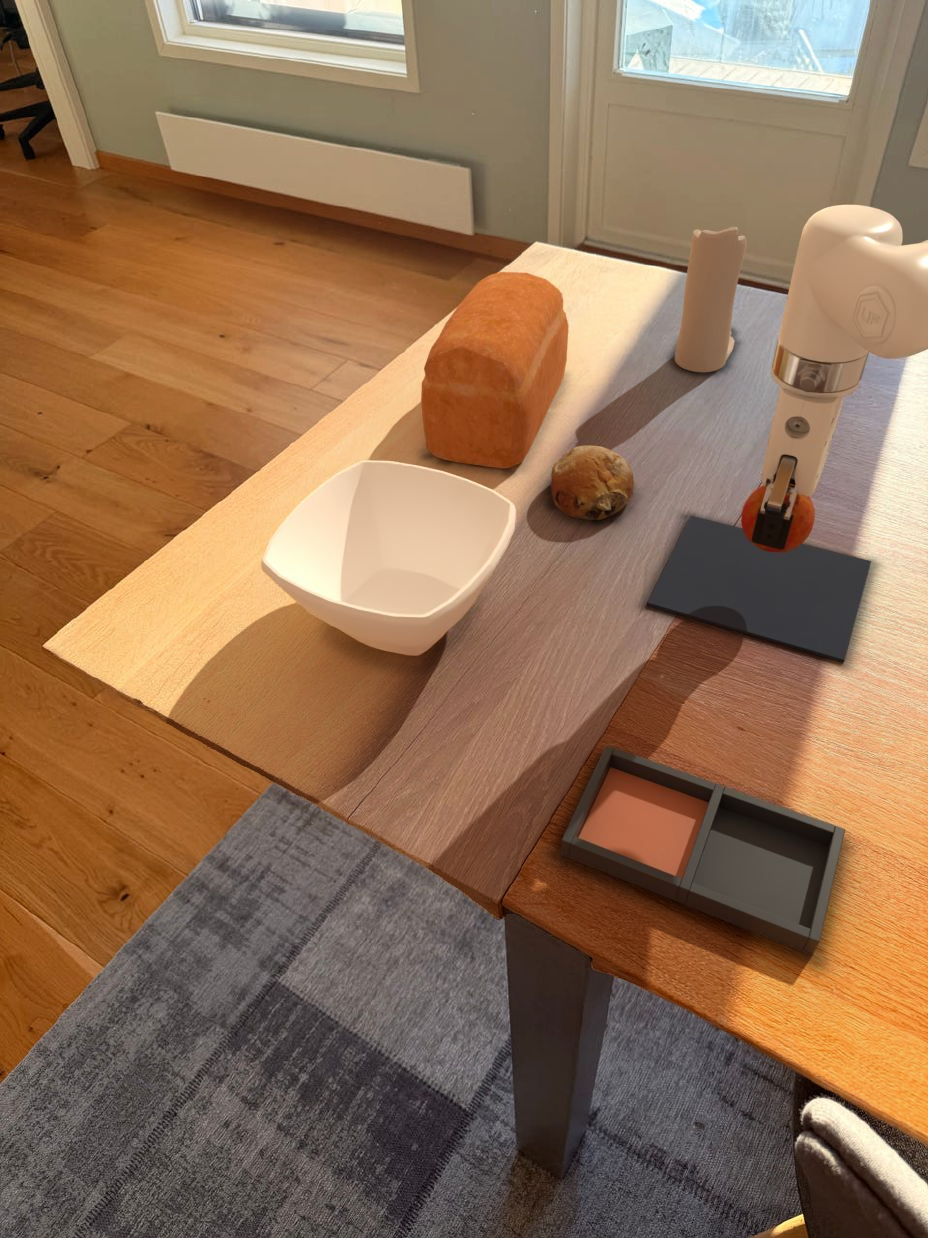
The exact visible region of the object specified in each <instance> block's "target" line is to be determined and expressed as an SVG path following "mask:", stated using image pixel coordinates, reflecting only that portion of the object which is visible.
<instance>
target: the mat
mask: <svg viewBox="0 0 928 1238" xmlns="http://www.w3.org/2000/svg"><path fill="white" fill-rule="evenodd" d="M871 563H872V561H871V560H869V559H865V558H861V557H857V556H853V555H849V554H845V553H841V552H837V551H833V550H829V549H825V548H821V547H818V546H813V545H809V544H805V543H802V544H801V545H800V546H798V547H797V548H794V549H793V550H791V551H789V552H785V553H780V552H767V551H764V550H762V549H760V548H758V547H756V546H755V545H754V544H752V543H751V542H750V541H749V540H748V539H747V537H746V536H745V534H744V532H743V529H742V527H738V526H734V525H731V524H726V523H723V522H718V521H715V520H711V519H707V518H702V517H698V516H695V515H690V517H689V518H688V520H687V521H686V524H685V526H684V528H683V530H682V532H681V534H680V536H679V539H678V540H677V542H676V544H675V546H674V548H673V550H672V552H671V554H670V557H669V559H668V560H667V563H666V565H665V566H664V568H663V570H662V573H661V575H660V576H659V579H658V580H657V583H656V585H655V586H654V589H653V590H652V592H651V595H650V596H649V598H648V600H647V603H646V605H647V606H648V607H652V608H656V609H659V610H663V611H666V612H669V613H673V614H676V615H679V616H683V617H686V618H690V619H693V620H697V621H700V622H703V623H706V624H710V625H714V626H717V627H720V628H724V629H728V630H731V631H735V632H738V633H741V634H745V635H748V636H750V637H751V636H752V637H754V638H758V639H762V640H765V641H769V642H772V643H775V644H779V645H782V646H786V647H788V648H792V649H795V650H799V651H803V652H805V653H809V654H813V655H816V656H820V657H823V658H826V659H830V660H833V661H837V662H840V663H845V660H846V656H847V653H848V649H849V645H850V641H851V637H852V634H853V630H854V626H855V624H856V618H857V615H858V612H859V608H860V605H861V600H862V598H863V597H862V596H863V594H864V590H865V585H866V582H867V578H868V575H869V570H870V566H871Z"/></svg>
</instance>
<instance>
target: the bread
mask: <svg viewBox="0 0 928 1238" xmlns="http://www.w3.org/2000/svg"><path fill="white" fill-rule="evenodd" d="M568 343H569V322H568V318H567V314H566V312H565V310H564V296H563V293H562V292H561V290H560V289H559V288H558V287H557V286H556V285H554V284H553V283H552V282H550V281H549V280H547V278H544V277H542V276H537V275H534V274H532V273H528V272H517V271H515V272H514V271H499V272H496V273H492V274H489V275H487V276H486V277H484V278H483V279H481V280H479V281H478V282H477V283H476V284H475V285H474V286H473V288H472V289H471V290H470V291H469V293H468V294H467V295H466V296H465V298H464V299H463V300H462V301H461V302H460V303H459V305H458V306H457V307H456V309H455V310H454V311H453V313H452V314H451V315H450V317H449V318H448V320H447V321H446V322H445V323H444V326H443V328H442V329H441V332H440V333H439V335H438V337H437V339H436V340H435V342H434V343H433V344H432V346H431V347H430V350H429V352H428V355H427V358H426V361H425V364H424V367H423V370H424V377H423V379H422V382H421V391H420V392H421V396H420V404H421V415H422V427H423V432H424V437H425V439H424V440H425V444H426V445H425V446H426V448H427V450H428V451H429V452H430V453H431V455H432V456H433V457H435V458H439V459H441V460H444V461H450V462H455V463H461V464H467V465H476V466H482V467H489V468H497V469H509V468H512V467H514V466H516V465H519V464H521V463H522V462H523V461H524V459H525V458H526V457H527V455H528V454H529V452H530V449H531V448H532V445H533V443H534V442H535V439H536V437H537V435H538V433H539V431H540V429H541V426H542V424H543V422H544V420H545V418H546V416H547V414H548V411H549V409H550V406H551V404H552V402H553V401H554V398H555V396H556V395H557V392H558V391H559V389H560V387H561V384H562V382H563V379H564V376H565V372H566V366H567V361H568V346H569V345H568Z"/></svg>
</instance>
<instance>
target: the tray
mask: <svg viewBox="0 0 928 1238" xmlns="http://www.w3.org/2000/svg"><path fill="white" fill-rule="evenodd" d="M845 833H846V828H844V827H841V826H838V825H836V824H832V823H830V822H827V821H824V820H821V819H818V818H815V817H812V816H810V815H807V814H805V813H801V812H799V811H796V810H793V809H790V808H787V807H784V806H781V805H778V804H776V803H773V802H771V801H768V800H764V799H762V798H759V797H756V796H753V795H750V794H747V793H744V792H742V791H739V790H737V789H733V788H730V787H727V786H724V785H722V784H718V783H716V782H713V781H711V780H708V779H705V778H702V777H699V776H697V775H695V774H691V773H687V772H686V771H682V770H680V769H676V768H673V767H670V766H668V765H665V764H662V763H659V762H656V761H654V760H651V759H648V758H645V757H643V756H639V755H636V754H634V753H631V752H628V751H626V750H623V749H620V748H617V747H613V746H611V745H608V744H607V745H605V747H604V749H603V750H602V752H601V755H600V757H599V759H598V761H597V763H596V766H595V768H594V770H593V772H592V774H591V776H590V778H589V781H588V782H587V785H586V787H585V790H584V791H583V793H582V796H581V798H580V799H579V802H578V804H577V806H576V808H575V810H574V813H573V814H572V816H571V819H570V821H569V823H568V825H567V828H566V829H565V832H564V834H563V836H562V838H561V841H560V842H561V844H560V856H563V857H566V858H568V859H570V860H572V861H575V862H578V863H580V864H582V865H584V866H587V867H590V868H592V869H595V870H597V871H600V872H602V873H604V874H606V875H607V874H608V875H610V876H612V877H615V878H617V879H620V880H622V881H625V882H627V883H630V884H632V885H635V886H637V887H640V888H642V889H645V890H647V891H650V892H652V893H655V894H657V895H660V896H662V897H664V898H667V899H670V900H672V901H674V902H677V903H679V904H682V905H685V906H687V907H689V908H692V909H695V910H696V911H698V912H699V911H700V912H702V913H703V914H707V915H709V916H712V917H714V918H717V919H719V920H722V921H724V922H726V923H729V924H731V925H733V926H736V927H739V928H741V929H743V930H747V931H748V932H751V933H754V934H756V935H759V936H761V937H763V938H767V939H769V940H771V941H774V942H776V943H778V944H781V945H783V946H786V947H789V948H791V949H793V950H795V951H799V952H801V953H803V954H806V955H808V956H811V957H813V956H814V954H815V952H816V950H817V948H818V946H819V945H820V943H821V938H822V933H823V929H824V926H825V925H824V924H825V920H826V916H827V912H828V907H829V903H830V898H831V895H832V889H833V886H834V881H835V877H836V872H837V867H838V863H839V859H840V854H841V850H842V846H843V841H844V837H845Z"/></svg>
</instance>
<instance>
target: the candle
mask: <svg viewBox="0 0 928 1238" xmlns="http://www.w3.org/2000/svg"><path fill="white" fill-rule="evenodd" d="M690 243H691V244H690V251H689V252H690V253H689V257H688V265H687V269H686V270H687V271H686V278H685V284H684V293H683V294H684V295H683V303H682V315H681V322H680V327H679V333H678V338H677V342H676V343H677V344H676V347H675V354H674V361H675V364H677V366H679V367H680V368H682V369H684V370H687V371H689V372H695V373H711V372H712V373H713V372H715V371H719V370H720V369H722V368H723V367H724V366H726V363H727V360H728V359H729V357H730V355H731V354H732V352H733V350H734V347H735V343H736V341H735V339H734V337H733V336H732V331H731V330H732V324H733V323H732V322H733V314H734V313H733V312H734V305H735V304H734V303H735V298H736V292H737V287H738V282H739V278H740V274H741V271H742V267H743V262H744V259H745V254H746V251H747V239H746V236H745V235H739V228H738V227H737V226H731V227H728V228H725V229H722V230H718V231H712V230H709V229H703V230H701V229H697V228H696V229H693V232H692V235H691V242H690Z"/></svg>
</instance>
